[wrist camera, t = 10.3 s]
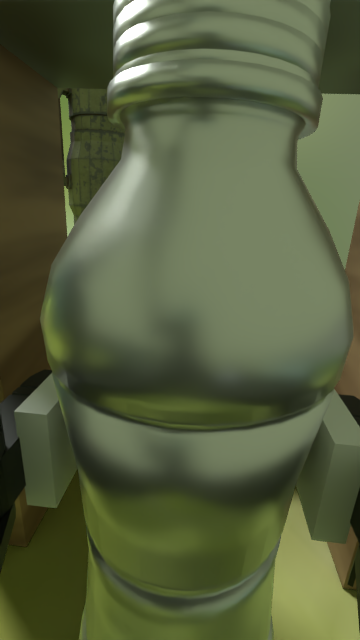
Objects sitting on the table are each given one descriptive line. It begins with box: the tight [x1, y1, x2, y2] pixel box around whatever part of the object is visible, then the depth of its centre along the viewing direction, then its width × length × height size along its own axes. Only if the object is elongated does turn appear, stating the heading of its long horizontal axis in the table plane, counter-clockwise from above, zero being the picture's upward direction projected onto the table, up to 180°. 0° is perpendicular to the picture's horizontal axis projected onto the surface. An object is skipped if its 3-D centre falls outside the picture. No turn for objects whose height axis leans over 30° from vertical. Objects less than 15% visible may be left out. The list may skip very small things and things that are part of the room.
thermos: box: [57, 88, 125, 225], centre depth 42 cm, size 9×12×35 cm
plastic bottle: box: [40, 0, 353, 640], centre depth 9 cm, size 6×7×20 cm
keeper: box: [0, 0, 360, 590], centre depth 19 cm, size 23×12×26 cm, turn 85°
